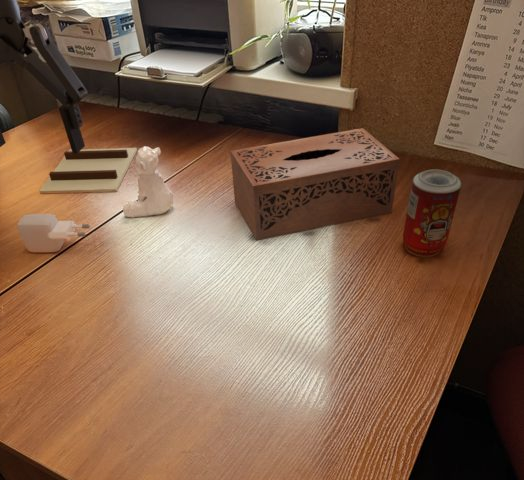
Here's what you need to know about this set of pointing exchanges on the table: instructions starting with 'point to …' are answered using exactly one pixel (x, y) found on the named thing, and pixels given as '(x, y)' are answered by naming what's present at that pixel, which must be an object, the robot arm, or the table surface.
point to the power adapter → (46, 232)
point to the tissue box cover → (313, 182)
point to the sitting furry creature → (149, 187)
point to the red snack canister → (430, 211)
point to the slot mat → (90, 171)
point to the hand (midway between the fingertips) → (38, 148)
